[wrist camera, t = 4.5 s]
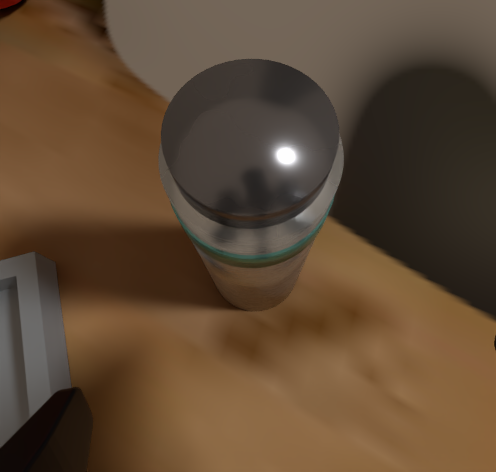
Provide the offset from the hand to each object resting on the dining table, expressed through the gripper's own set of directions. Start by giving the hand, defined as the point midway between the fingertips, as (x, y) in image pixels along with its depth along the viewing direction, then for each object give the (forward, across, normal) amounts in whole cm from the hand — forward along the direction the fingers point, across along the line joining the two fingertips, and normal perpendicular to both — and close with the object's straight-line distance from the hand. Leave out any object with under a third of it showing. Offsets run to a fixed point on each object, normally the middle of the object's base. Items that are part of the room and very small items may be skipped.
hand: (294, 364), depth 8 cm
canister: (+12, 0, +5) cm, 13 cm away
